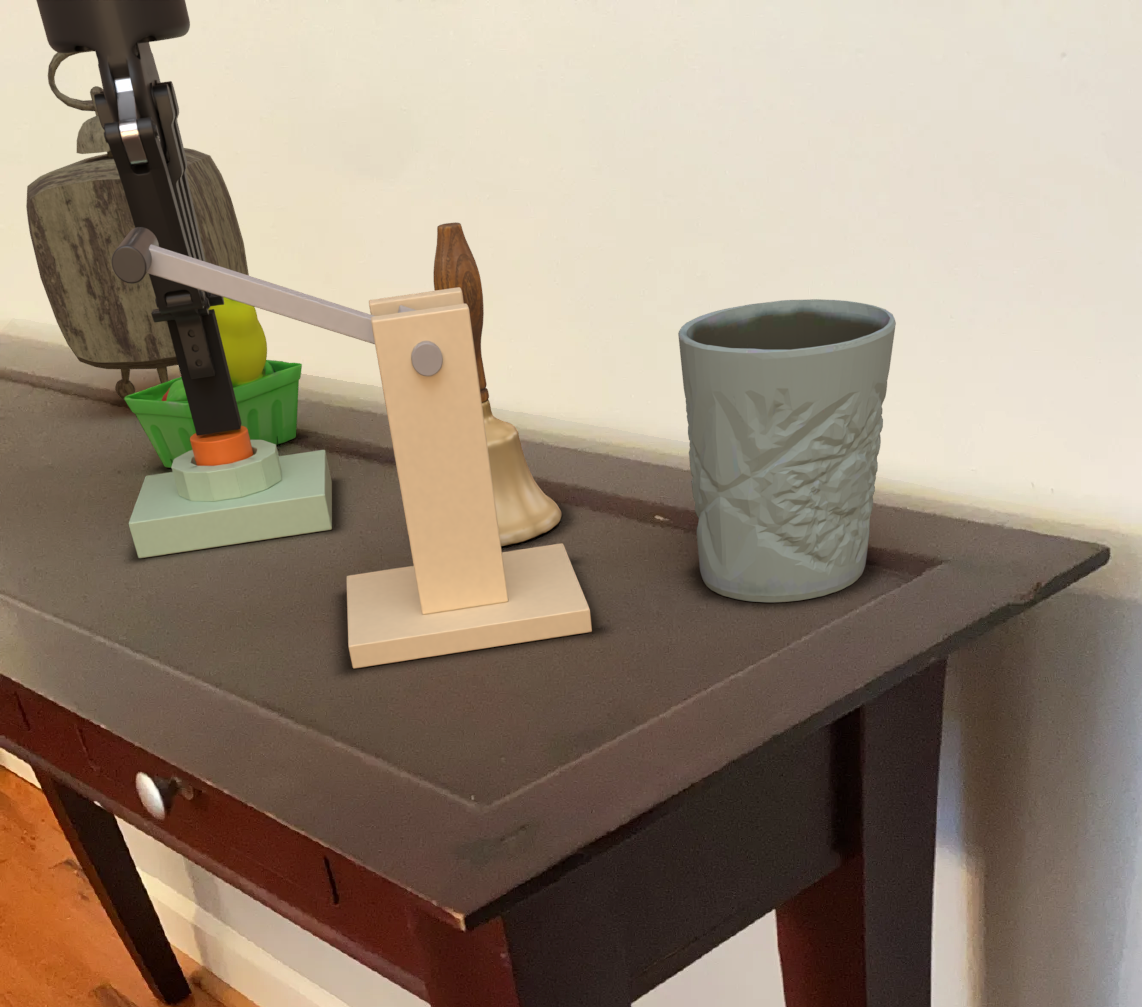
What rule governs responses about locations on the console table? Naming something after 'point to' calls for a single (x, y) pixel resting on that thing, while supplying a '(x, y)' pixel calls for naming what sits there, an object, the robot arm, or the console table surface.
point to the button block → (232, 501)
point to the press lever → (235, 286)
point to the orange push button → (221, 447)
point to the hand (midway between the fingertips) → (219, 428)
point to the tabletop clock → (91, 235)
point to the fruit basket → (256, 383)
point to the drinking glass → (785, 442)
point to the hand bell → (513, 484)
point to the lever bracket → (449, 508)
